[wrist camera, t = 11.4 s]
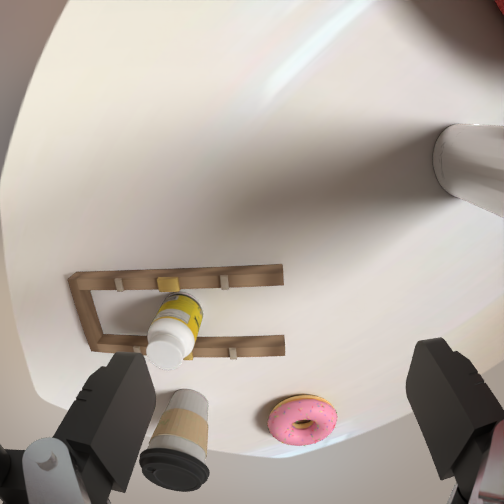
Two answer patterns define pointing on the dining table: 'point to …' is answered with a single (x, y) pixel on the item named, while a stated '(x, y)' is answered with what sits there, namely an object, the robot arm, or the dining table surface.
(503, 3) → the mixing bowl
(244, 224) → the dining table surface
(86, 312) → the wooden u-shaped frame
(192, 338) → the supplement bottle
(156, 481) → the coffee cup
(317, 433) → the doughnut
